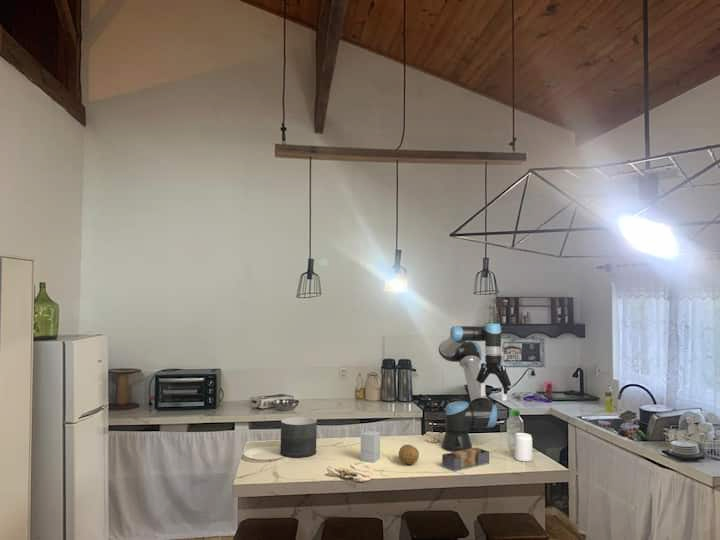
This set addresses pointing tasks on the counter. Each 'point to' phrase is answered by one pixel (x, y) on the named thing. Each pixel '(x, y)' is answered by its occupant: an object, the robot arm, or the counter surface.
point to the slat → (467, 456)
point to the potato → (408, 454)
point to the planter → (298, 437)
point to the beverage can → (523, 447)
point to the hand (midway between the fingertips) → (493, 398)
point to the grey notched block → (455, 463)
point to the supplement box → (370, 446)
